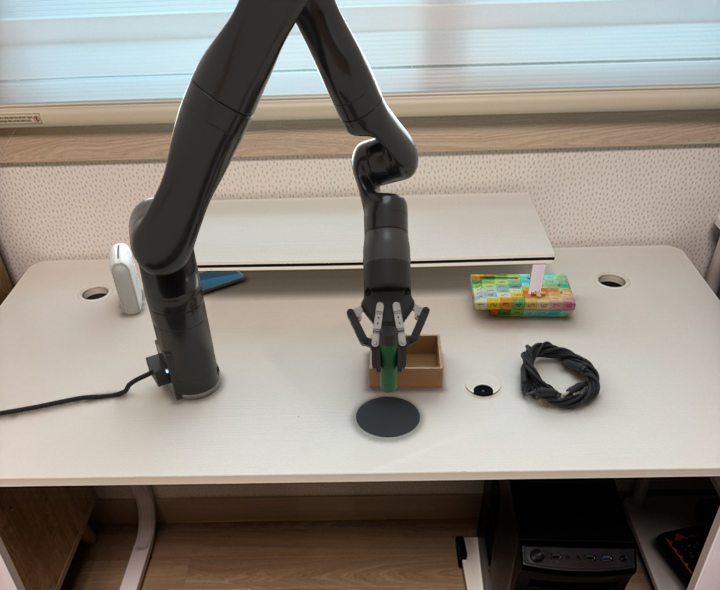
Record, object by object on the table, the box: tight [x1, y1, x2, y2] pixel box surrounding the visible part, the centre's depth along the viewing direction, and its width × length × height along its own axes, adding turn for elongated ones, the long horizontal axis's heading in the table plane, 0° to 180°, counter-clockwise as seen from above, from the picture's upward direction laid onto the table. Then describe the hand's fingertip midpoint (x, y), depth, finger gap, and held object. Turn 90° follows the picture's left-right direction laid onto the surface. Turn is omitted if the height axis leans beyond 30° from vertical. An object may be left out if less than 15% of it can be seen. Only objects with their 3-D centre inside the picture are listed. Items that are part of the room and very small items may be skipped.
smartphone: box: [199, 270, 246, 294], centre depth 154 cm, size 8×15×1 cm, turn 123°
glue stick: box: [379, 326, 398, 394], centre depth 111 cm, size 3×3×11 cm
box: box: [368, 333, 444, 388], centre depth 127 cm, size 13×11×4 cm
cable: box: [520, 340, 601, 409], centre depth 125 cm, size 17×14×4 cm
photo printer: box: [109, 242, 143, 315], centre depth 145 cm, size 10×4×12 cm, turn 12°
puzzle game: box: [469, 273, 577, 318], centre depth 143 cm, size 12×5×20 cm
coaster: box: [355, 396, 421, 438], centre depth 119 cm, size 11×11×1 cm
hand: (389, 371), depth 110 cm, fingers closed on glue stick, 2 cm apart
